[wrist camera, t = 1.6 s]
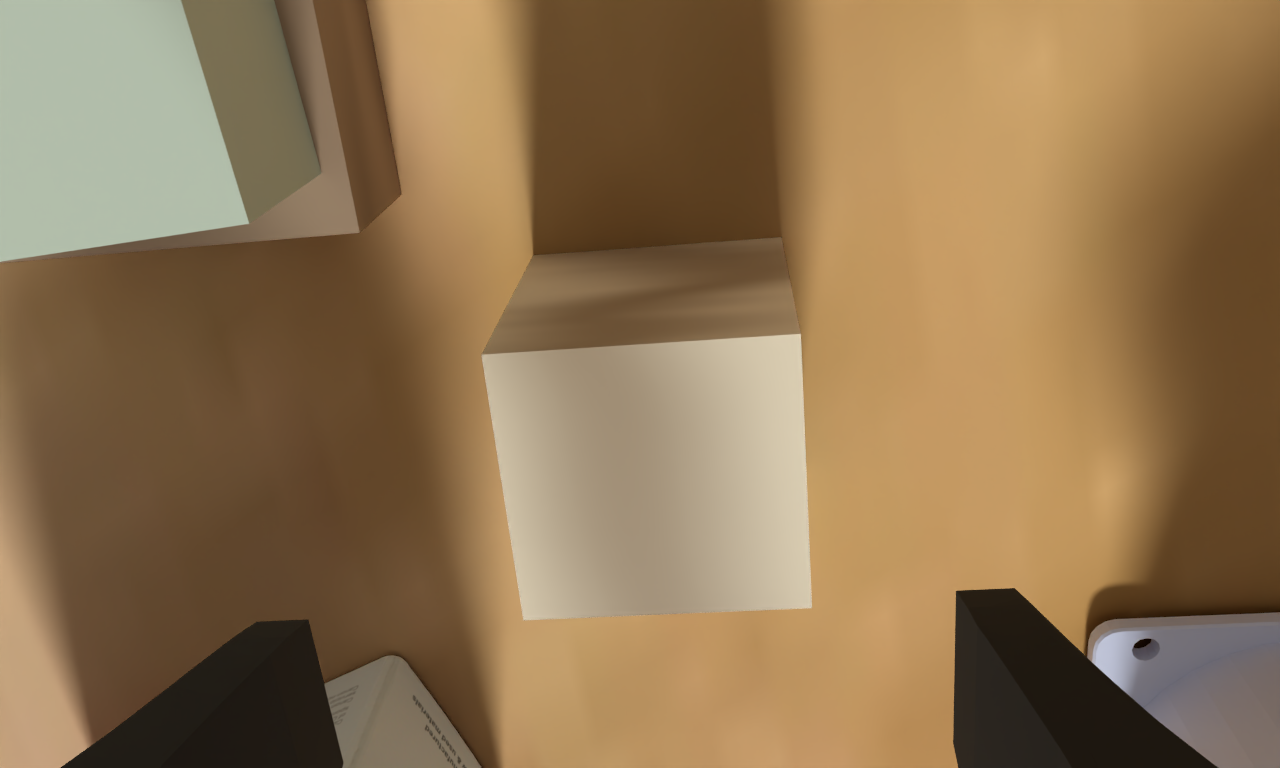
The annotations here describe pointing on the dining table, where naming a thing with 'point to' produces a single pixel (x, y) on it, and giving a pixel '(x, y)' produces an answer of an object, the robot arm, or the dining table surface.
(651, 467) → the maple block
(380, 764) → the ink box
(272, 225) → the walnut base block
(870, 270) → the dining table surface
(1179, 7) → the dining table surface
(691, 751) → the dining table surface
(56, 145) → the sage top block
